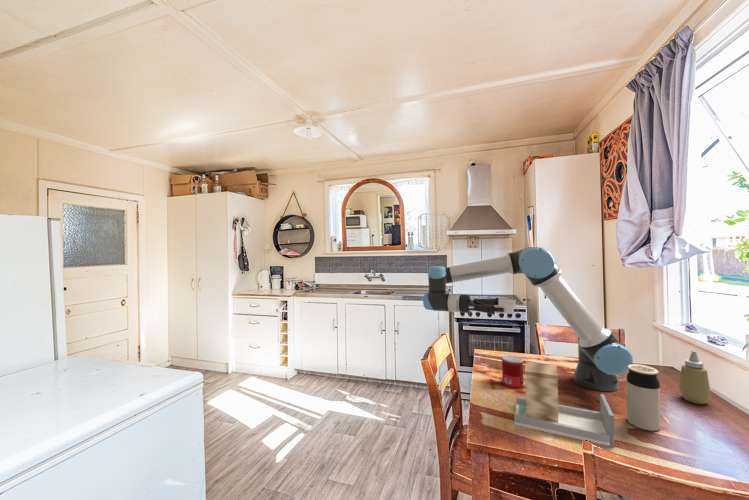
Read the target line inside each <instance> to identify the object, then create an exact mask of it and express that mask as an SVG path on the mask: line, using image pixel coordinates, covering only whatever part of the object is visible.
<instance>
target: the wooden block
mask: <svg viewBox="0 0 749 500" xmlns="http://www.w3.org/2000/svg"><path fill="white" fill-rule="evenodd" d="M524 368H525V369H524V375H525V398H526V416H527V417H532V418H537V419H542V420H546V421H551V422H556V423H558V404H559V383H558V382H559V380H560V379H559V372H558V366H557V365H556V364H555V365H554V364H549V363H548V364H547V363H542V362H534V361H527V360H526V361H525V367H524Z"/></svg>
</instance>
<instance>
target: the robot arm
mask: <svg viewBox="0 0 749 500" xmlns="http://www.w3.org/2000/svg"><path fill="white" fill-rule="evenodd" d="M504 274H511V275H517V274H524V276H525V277H526V279H528V281H529V282H530V283H531V285H533V287H536V288H540V289H541V291H542V292H543V293H544V294H545V296H546V297H547V298H548V299H549V301H550V302H551V304H552V305H553V306H554V307H555V309H556V310H557V311H558V312H559V314H560V315H561V317H562V318H563V319H564V320H565V321H566V323H567V324H568V325H569V327H570V328H571V329H572V330H573V332H574V334H575V335H576V336H577V348H578V349H577V351H578V362H577V364H576V367H575V370H574V373H573V381H574V382H575V383H576V384H578V385H580V386H582V387H584V388H587V389H590V390H595V391H599V392H600V391H601V392H615V391H618V390H619V389H620V388H619V385H620V384H619V379H618V377H617V376H620V375H624V374H625V373H628V372H629V368H628V367H627V366H628V365H630V364H633V363H634V358H633V355H632V353H631V352H630V350H629V349H628V348H627V347H626V346H625V345H622V344H621V342H620V341H619V339H617V337H616V336H615V335H614V334H613V331H612V330H611V329H608V328H604V327H602V326H601V324H600V323H599V321H597V320H596V319H595V317H594V316H593V314H592V313H591V312H590V311H589V310H588V308H587V307H586V306H585V304H584V303H583V301H581V299H580V298H579V297H578V295H577V294H576V293H575V292H574V290H573V289H572V288H571V287H570V286H569V284H568V283H567V282H566V281H565V279H564V278H563V277H562V276H561V274H562V269H561V268H560V267H559V265H558V264H557V263H556V261H555V258H554V256H553V255H552V253H551V252H550V251H548V249H545V248H543V247H539V246H534V247H533V246H529V247H525V248H522V249H520V250H516V251H513V252H508V253H507V254H506V255H504V256H499V257H494V258H489V259H484V260H478V261H473V262H468V263H463V264H457V265H452V266H447V267H445V266H443V265H435V266H433V265H432V266H429V267H428V272H427V277H428V278H427V279H428V281H427V282H428V292H425V293H424V294H423V299H422V304H423V307H424V309H425V310H428V311H434V312H436V311H437V312H452V314H455V313H459V312H460V313H461V314H462V313H463V314H469V313H470V312H471V311H473V312H474V311H475V312H479V313H485V314H491V315H492V316H493V315H495V313H497V314H509V315H510V314H512V315H514V314H515V313H514V312H515V308H516V306H517V305H516V300H515V299H514V300H512V299H499V297H496V298H474V299H473V300H471V295H469V294H458V293H447V284H452V283H457V282H462V281H469V280H474V279H480V278H487V277H492V276H499V275H504Z"/></svg>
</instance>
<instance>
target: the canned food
mask: <svg viewBox="0 0 749 500" xmlns="http://www.w3.org/2000/svg"><path fill="white" fill-rule="evenodd" d="M501 363H502V364H501V365H502V367H501V368H502V369H501V370H502V373H501V374H502V375H501V377H502V384H503V385H504V386H506V387H508V388H509V389H510V388H511V389H521V388H523V386H524V359H523V358H522V357H520V356H518V355H510V354H509V355H508V354H507V355H503V356H501Z"/></svg>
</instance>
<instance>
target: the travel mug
mask: <svg viewBox="0 0 749 500" xmlns="http://www.w3.org/2000/svg"><path fill="white" fill-rule="evenodd" d="M627 367H628V368H629V370H628V372H627V374H626V417H627V418H626V419H627V422H628V423H629V424H631V425H632V426H635V427H636V428H639V429H641V430H645V431H650V432H651V431H655V432H656V431H660V430H661V390H660V389H661V381H660V380H659V379H658V374H659V370H657V369H656V368H654V367H651V366H648V365H644V364H638V363H637V364H636V363H634V364H633V363H632V364H630V365H628V366H627Z"/></svg>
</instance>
